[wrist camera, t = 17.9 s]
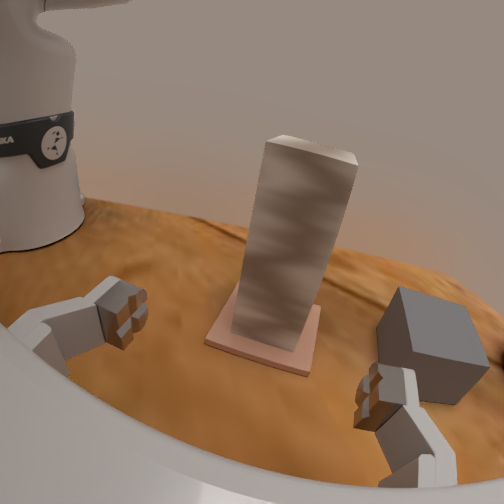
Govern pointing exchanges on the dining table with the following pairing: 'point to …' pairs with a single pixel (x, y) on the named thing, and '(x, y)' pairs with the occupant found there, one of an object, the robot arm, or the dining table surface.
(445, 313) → the charcoal plinth
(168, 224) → the dining table surface
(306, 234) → the cream block
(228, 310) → the terracotta tile
